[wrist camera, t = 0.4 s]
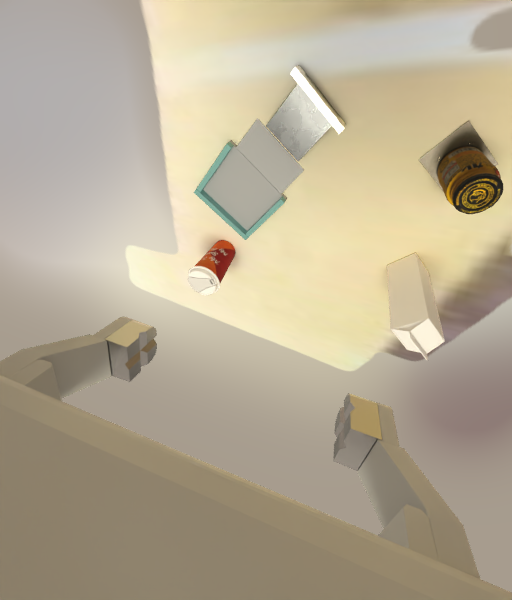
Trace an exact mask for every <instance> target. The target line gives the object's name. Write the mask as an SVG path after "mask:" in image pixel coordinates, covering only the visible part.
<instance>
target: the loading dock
mask: <svg viewBox="0 0 512 600" xmlns="http://www.w3.org/2000/svg"><path fill="white" fill-rule="evenodd" d="M303 171H304V169H303V168H302V167H301V166H300V165H299V164H298V163H297V162H296V161H295V159H294V158H293V157H292V156H291V155H290V154H289V153H288V152H287V150H286V149H285V148H284V147H283V146H282V145H281V144H280V143H279V142H278V140H277V139H276V138H275V137H274V136H273V135H272V134H271V133H270V132H269V130H268V129H267V128H266V127H265V126H264V125H263V124H262V123H261V122H260V120H259V119H258V118H257V120H256V121H255V122H254V124H253V125H252V127H251V128H250V129H249V131H248V132H247V133H246V135H245V136H244V137H243V139H242V140H241V142H240V143H239V144H238V146H236V145H235V144H234V142H233V141H232V140H231V141H230V142H228V143H227V144H226V146H225V147H224V149H223V150H222V152H221V153H220V155H219V156H218V158H217V159H216V161H215V162H214V164H213V165H212V167H211V168H210V170H209V171H208V173H207V174H206V175H205V177H204V178H203V180H202V181H201V183H200V184H199V186H198V187H197V189H196V190H195V192H194V193H195V194H196V195H197V196H198V197H199V198H200V199H201V200H203V201H204V202H205V203H206V204H207V205H208V206H209V207H210V208H211V209H212V210H213V211H214V212H216V213H217V214H218V215H219V216H220V217H221V218H222V219H223V220H224V221H225V222H226V223H227V224H229V225H230V226H231V227H232V228H233V229H234V230H235V231H236V232H237V233H238V234H239V235H240V236H242V237H243V238H244V239H245V240H246V239H247V238H248V237H249V236H250V235H251V234H252V233H253V232H254V231H255V230H257V229H258V228H259V227H260V226H261V225H262V224H263V223H264V222H265V221H266V220H267V219H268V218H269V217H270V216H271V215H272V214H273V213H274V212H275V211H276V210H277V209H278V208H279V207H280V206H282V205H283V204H284V202H285V201H286V199H287V198H286V197H285V196H284V195H283V194H282V193H283V192H284V190H285V189H286V188H287V187H288V186H289V185H290V184H291V183H292V182H293V181H294V180H295V179H296V178H297V177H298V176H299V175H300V174H301V173H302V172H303Z"/></svg>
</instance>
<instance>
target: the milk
mask: <svg viewBox="0 0 512 600" xmlns="http://www.w3.org/2000/svg"><path fill="white" fill-rule="evenodd" d="M387 274H388V292H389V309H390V327H391V330H392V331H393V333H394V334H395V335H396V336H397V338H398V339H399V340H400V341H401V343H402V344H403V345H404V346H405V348H406V349H407V350H411V351H415V352H420V353H421V354H422V355H423V356H424V358H425V359H426V360H428V358H427V353H428V352H430V351H431V350H433V349H434V348H436V347H437V346H439V345H440V344H441V343H443V342H444V341H445V340H444V336H443V332H442V327H441V323H440V319H439V314H438V310H437V306H436V302H435V297H434V293H433V289H432V284H431V280H430V276H429V272H428V271H427V269H426V268H425V266H424V264H423V263H422V261H421V260H420V258H419V257H418V255H417V254H416V253H414V254H411V255H409V256H407V257H404V258H402V259H400V260H398V261H395V262H393V263H391V264H388V265H387Z"/></svg>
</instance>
